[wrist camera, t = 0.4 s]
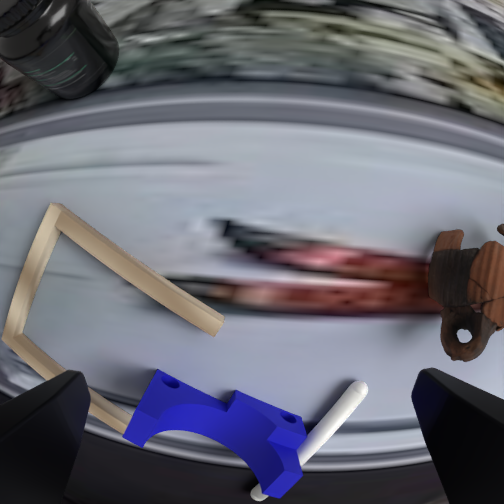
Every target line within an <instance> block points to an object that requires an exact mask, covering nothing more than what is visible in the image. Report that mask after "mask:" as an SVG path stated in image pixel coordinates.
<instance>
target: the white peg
mask: <svg viewBox="0 0 504 504" xmlns="http://www.w3.org/2000/svg"><path fill="white" fill-rule="evenodd" d="M367 393H368V387H367V385H366V383H364V382H363V381H355V382H353V383H352V384H351V385H350V386H349V387H348V388H347V390H346V391H345V392H344V393H343V395H342V396H341V397H340V398H339V400H338V401H337V402H336V403H335V404H334V406H333V407H332V408H331V409H330V410H329V411H328V413H327V414H326V415H325V416H324V417H323V418H322V419H321V421H320V422H319V423H318V424H317V425H316V426H315V427H314V428H313V430H312V431H311V432H310V433H309V434H308V435H307V438H306V439H305V441H304V442H303V443H302V444H301V445H300V447H299V448H298V449H297V454H298V458H299V462H300V466H302V465H303V464H304V463H305V462H306V461H307V460H308V459H309V458H310V457H311V456H312V455H313V454H314V453H315V452H316V451H317V450H318V449H319V448H320V447H321V446H322V445H323V444H324V443H325V442H326V441H327V440H328V439H329V438H330V437H331V436H332V434H333V433H334V432H335V431H336V430H337V429H338V428H339V427H340V426H341V425H342V423H343V422H344V421H345V420H346V419H347V418H348V417H349V415H350V414H351V413H352V412H353V411H354V410H355V408H356V407H357V406H358V405H359V404H360V402H361V401H362V400H363V399H364V398H365V396H366V395H367ZM251 497H252V498H253V499H254V500H256V501H262V500H264V499H265V498H267V497H268V495H265V494H262V491H261V487H260V484H258V485H256V486H255V487H254V488H253V489H252V490H251Z"/></svg>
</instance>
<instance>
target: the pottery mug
mask: <svg viewBox="0 0 504 504" xmlns="http://www.w3.org/2000/svg"><path fill="white" fill-rule="evenodd" d="M497 231H498V232H499V233H500V234H502V235H503V236H504V224H501V225H499V226H498V227H497ZM463 236H464V233H463V231H462V230H452V231H443V232H441V234H440V235H439V237H438V239H437V242H436V244H435V248H434V252H433V254H432V259H431V263H430V266H429V274H428V292H429V297H430V298H431V299H433V300H435V301H437V302H438V303H439V304H441V305H442V306H443V307H444V309H443V310H441V312H440V314H441V317H442V324H441V334H440V338H441V343H442V346H443V348H444V351H445V352H446V354H447V355H448V356H450V357H451V360H453V361H456V360H463V361H464V362H467V361H471V360H473V359H475V358H477V357H478V356H479V355H480V354H481V353H482V352H483V350H484V349H485V347H486V345H487V342H488V340H489V338H490V336H491V335H492V334H493V333H494V332H495V330H496V331H500V330H502V329H503V328H504V246H503V245H501V244H499V243H498V242H496V241H489V242H486V243H485V244H484V245H483V246H482V247H481V249H478V248H472V249H463V250H460V247H461V246H460V245H461V242H462V239H463ZM477 303H482V305H481V312H475V311H474V309H473V308H472V307H471V306H470V305H472V304H477ZM459 329H464V330H469V332H470V333H471V335H472V339H471V340H470V341H469V342H467V343H461V342H460V341H459V339H458V337H457V331H458V330H459Z"/></svg>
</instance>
